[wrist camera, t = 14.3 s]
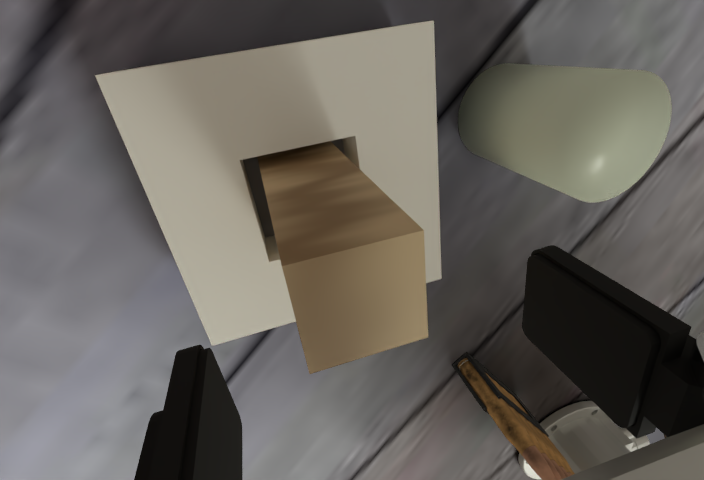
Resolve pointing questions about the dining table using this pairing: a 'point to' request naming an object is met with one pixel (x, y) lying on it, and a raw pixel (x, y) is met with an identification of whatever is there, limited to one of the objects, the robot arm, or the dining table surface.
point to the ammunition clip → (513, 420)
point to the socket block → (270, 137)
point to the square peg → (344, 256)
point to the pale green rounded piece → (568, 125)
